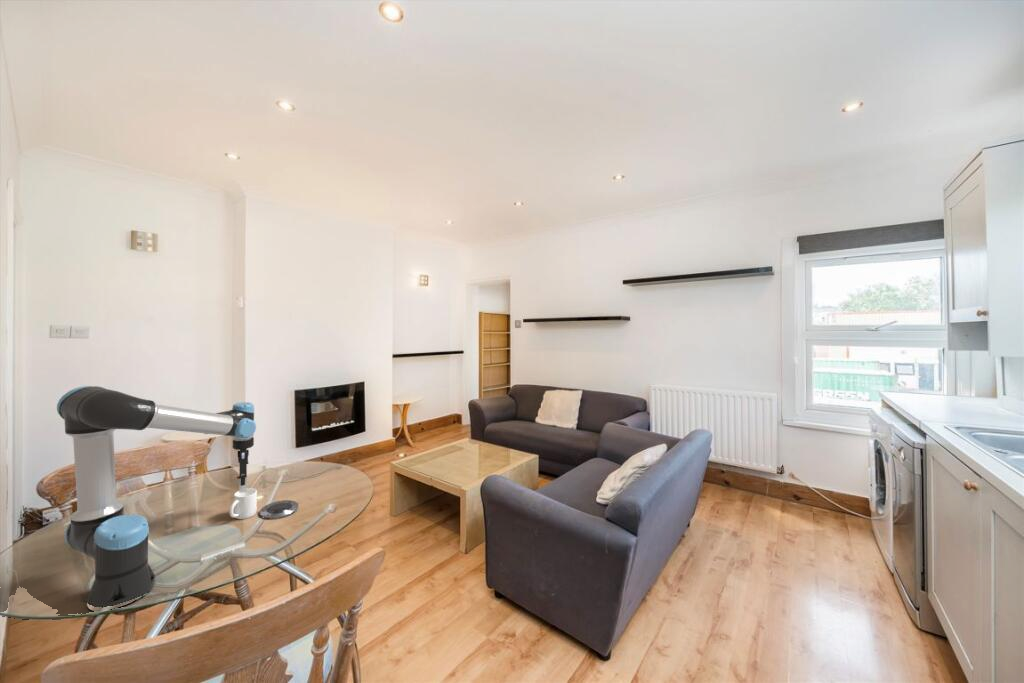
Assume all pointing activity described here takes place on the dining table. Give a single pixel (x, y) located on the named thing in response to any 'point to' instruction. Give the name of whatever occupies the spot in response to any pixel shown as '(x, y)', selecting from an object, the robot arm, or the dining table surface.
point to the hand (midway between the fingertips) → (242, 485)
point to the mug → (244, 504)
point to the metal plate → (279, 509)
